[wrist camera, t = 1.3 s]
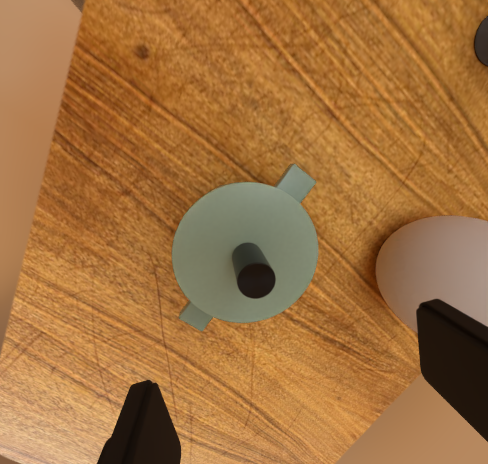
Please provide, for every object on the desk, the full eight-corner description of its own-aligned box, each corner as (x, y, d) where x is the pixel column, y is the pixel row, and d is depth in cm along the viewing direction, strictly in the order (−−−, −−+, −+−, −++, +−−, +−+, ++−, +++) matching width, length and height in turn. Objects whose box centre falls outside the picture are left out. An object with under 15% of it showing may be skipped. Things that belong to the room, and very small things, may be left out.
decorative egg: (412, 322, 34) (562, 440, 19) (338, 276, 31) (450, 373, 16) (476, 242, 32) (693, 305, 18) (404, 187, 29) (593, 206, 15)
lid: (145, 270, 21) (121, 306, 16) (230, 149, 20) (236, 143, 14) (258, 338, 24) (272, 388, 18) (340, 236, 22) (381, 258, 17)
